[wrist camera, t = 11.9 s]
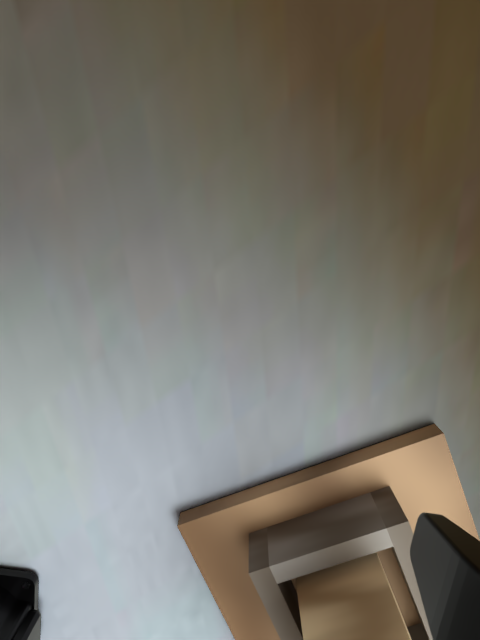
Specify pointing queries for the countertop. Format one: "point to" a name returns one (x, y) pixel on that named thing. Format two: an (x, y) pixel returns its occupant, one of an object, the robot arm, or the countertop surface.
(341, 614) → the keyed block
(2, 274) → the countertop surface
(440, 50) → the countertop surface
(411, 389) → the countertop surface
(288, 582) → the holder
